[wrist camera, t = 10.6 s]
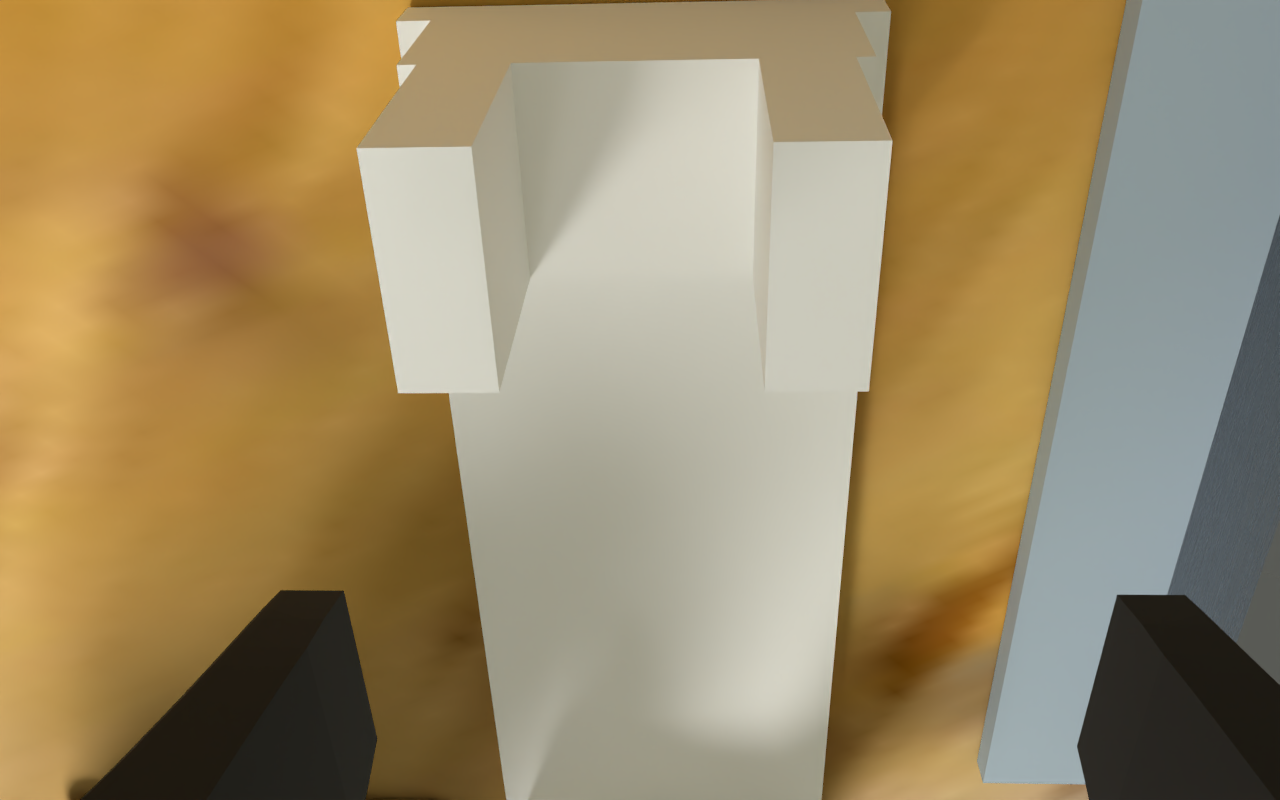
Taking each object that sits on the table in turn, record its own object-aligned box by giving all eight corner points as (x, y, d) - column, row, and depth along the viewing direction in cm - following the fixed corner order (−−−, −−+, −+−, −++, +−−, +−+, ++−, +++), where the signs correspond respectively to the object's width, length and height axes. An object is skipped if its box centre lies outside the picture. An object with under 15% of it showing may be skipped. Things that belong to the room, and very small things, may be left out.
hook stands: (522, 851, 28) (483, 1115, 22) (407, 7, 17) (285, 148, 12) (810, 856, 27) (837, 1125, 22) (882, -3, 16) (968, 139, 11)
